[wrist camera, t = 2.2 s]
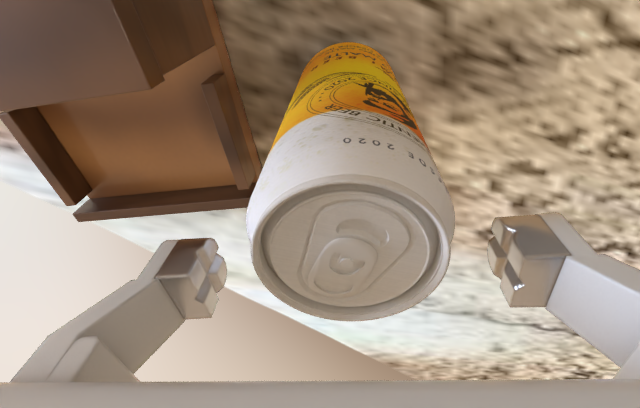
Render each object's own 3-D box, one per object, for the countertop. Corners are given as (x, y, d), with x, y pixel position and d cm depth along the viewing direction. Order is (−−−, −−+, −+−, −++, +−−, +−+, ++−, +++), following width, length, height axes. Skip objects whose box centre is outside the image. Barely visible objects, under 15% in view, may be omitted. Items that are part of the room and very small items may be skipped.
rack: (-37, -22, 18) (-296, -16, 11) (191, -72, 16) (64, -105, 9) (106, 196, 27) (15, 281, 20) (265, 180, 25) (232, 268, 18)
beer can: (412, 62, 19) (523, 216, 7) (369, 147, 23) (395, 346, 11) (318, 22, 18) (267, 123, 6) (288, 117, 22) (218, 298, 10)
